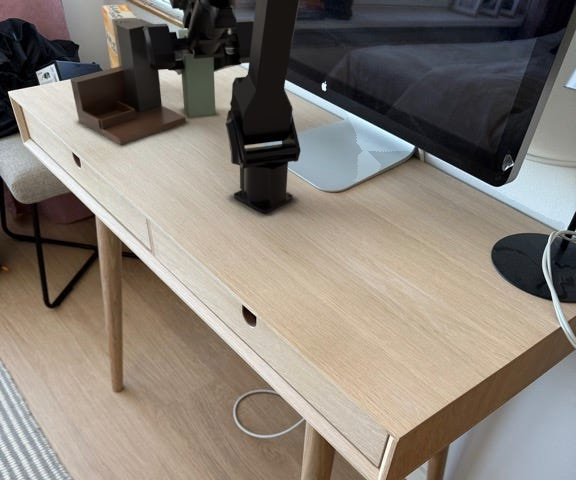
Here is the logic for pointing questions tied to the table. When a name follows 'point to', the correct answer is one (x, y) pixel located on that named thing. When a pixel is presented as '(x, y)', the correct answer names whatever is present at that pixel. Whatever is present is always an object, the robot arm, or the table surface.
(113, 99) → the frame
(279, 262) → the table surface
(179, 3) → the robot arm
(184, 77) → the green upright block
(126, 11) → the supplement box
